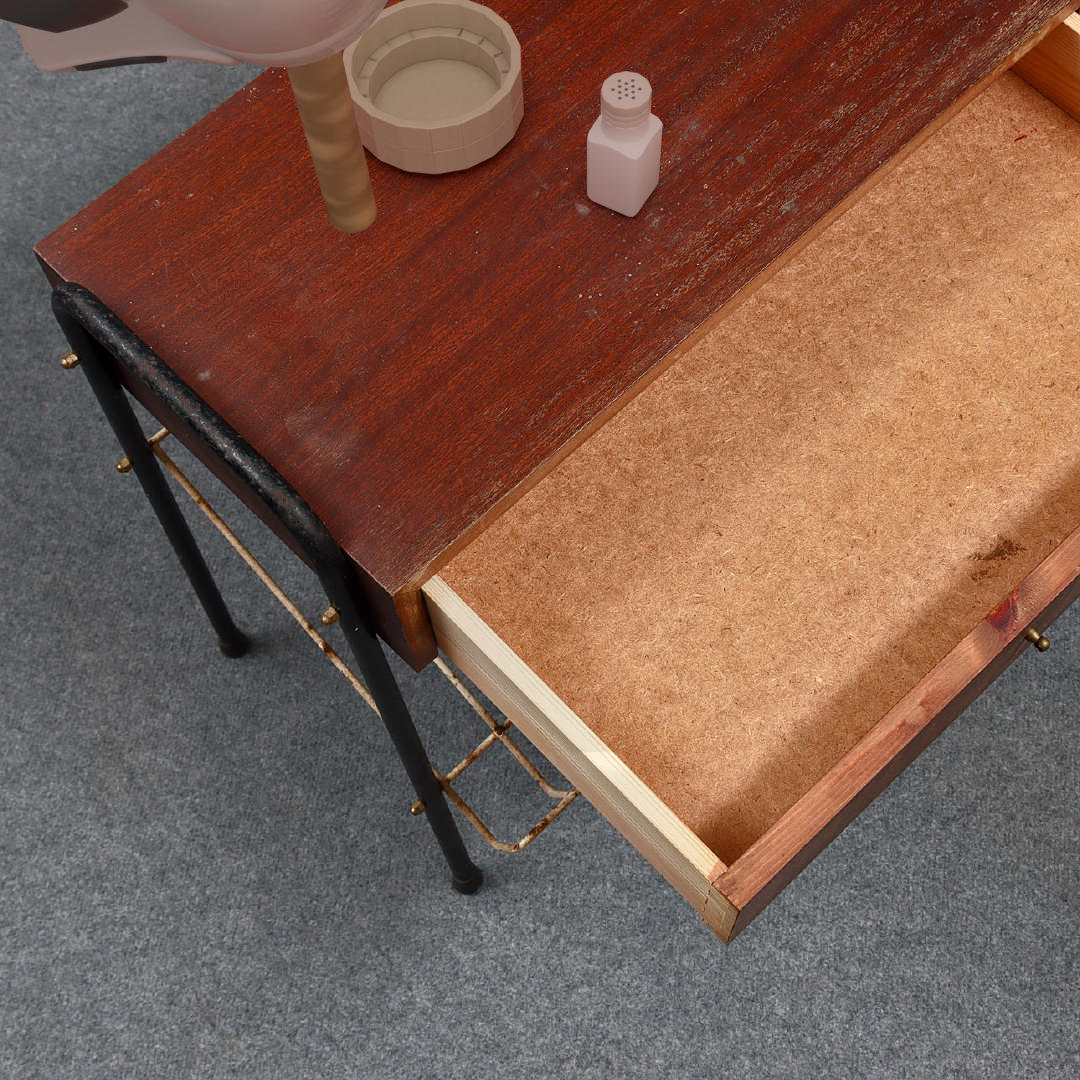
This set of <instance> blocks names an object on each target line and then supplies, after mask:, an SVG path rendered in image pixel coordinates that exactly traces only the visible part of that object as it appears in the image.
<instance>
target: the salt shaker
mask: <svg viewBox="0 0 1080 1080" xmlns="http://www.w3.org/2000/svg"><path fill="white" fill-rule="evenodd" d="M652 94H653V89H652V87H651V84H650V81H649V80H648V79H647V78H646V77H644V76H643V75H642V74H641V73H638V72H634V71H627V70H625V71H620V72H616V73H613V74H611V75H610V76H608V77H607V78H606V79H604V81H603V83H602V86H601V89H600V115H598V117H597V118H596V120H595V122H594V123H593V124H592V126H591V128H590V129H589V131H588V133H587V139H586V195H587V197H588V199H589V200H591V202H594V203H595V204H598V205H601V206H603V207H605V208H607V209H610V210H612V211H615V212H616V213H619V214H622V215H624V216H626V217H631V218H633V217H635V216H636V215H638V213H639V212H640V210H641V209H642V208H643V206H644V205H645V203H646V202H647V200H648V199H649V197H650V196H651V195H652V193H653V192H654V190H655V189H656V187H657V186H658V184H659V180H660V167H661V165H660V164H661V154H662V153H661V152H662V140H663V139H662V137H663V126H664V125H663V122H662V121H661V119H660V118H659V117H658V116H657V115H655V114H653V113H651V112H652V99H653V97H652V96H653V95H652Z"/></svg>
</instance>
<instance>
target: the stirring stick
mask: <svg viewBox="0 0 1080 1080" xmlns="http://www.w3.org/2000/svg"><path fill="white" fill-rule="evenodd" d="M285 69H286V71H287V75H288V78H289V83H290V86H291V89H292V93H293V96H294V100H295V104H296V108H297V110H298V114H299V118H300V122H301V125H302V129H303V132H304V135H305V140H306V142H307V147H308V150H309V153H310V156H311V160H312V164H313V167H314V171H315V174H316V175H315V176H316V178H317V181H318V182H317V183H318V186H319V190H320V191H321V197H322V200H323V203H324V206H325V211H326V213H327V217H328V220H329V223H330V225H331V226H332V227H333V228H334V229H336V230H337V231H339V232H342V233H346V234H357V233H361V232H363V231H365V230H367V229H368V228H370V227H371V226H372V225H373V224H374V222H375V221H376V219H377V216H378V208H377V203H376V199H375V194H374V189H373V186H372V182H371V181H372V180H371V177H370V172H369V167H368V163H367V159H366V155H365V151H364V145H363V144H362V141H361V137H360V132H359V128H358V123H357V119H356V115H355V110H354V106H353V101H352V97H351V93H350V88H349V84H348V80H347V75H346V71H345V66H344V62H343V52H342V51H340V52H338V53H337V54H335V55H332V56H330V57H328V58H326V59H323V60H320V61H317V62H315V63H311V64H306V65H302V66H294V67H285Z"/></svg>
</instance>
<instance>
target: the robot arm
mask: <svg viewBox="0 0 1080 1080" xmlns="http://www.w3.org/2000/svg"><path fill="white" fill-rule="evenodd" d="M388 1H389V0H0V20H3V21H6V22H9V23H13V24H15V25H16V28H17V31H18V35H19V37H20V40H21V43H22V46H23V49H24V51H25V52H26V53H27V54H28V55H29V56H31V57H32V59H33V61H34V63H35V66H36V67H37V68H38V69H39V70H41V71H43V72H47V73H53V74H62V73H69V72H74V71H77V72H91V71H97V70H103V69H110V68H117V67H125V66H132V65H146V64H147V65H148V64H164V63H167V62H168V61H187V62H199V63H207V64H212V65H213V64H214V65H220V66H225V67H236V66H238V65H240V64H241V62H243V63H247V64H251V65H254V66H255V65H256V66H260V67H268V68H286V67H294V66H302V65H306V64H311V63H315V62H317V61H320V60H323V59H326V58H328V57H330V56H332V55H335V54H337V53H338V52H340V51H341V52H342V51H344V50H345V48H347V47H348V46H349V45H351V44H352V43H353V42H355V41H356V40H357V39H358V38H359V37H361V36H362V35H363V34H364V33H365V32H366V31H367V30H368V29H369V27H370V26H371V25H372V24H373V23H374V21H375V20H376V19H377V17H378V16H379V15H380V13H381V12H382V10H384V9H385V7H386V5H387V3H388Z"/></svg>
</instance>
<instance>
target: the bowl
mask: <svg viewBox="0 0 1080 1080" xmlns="http://www.w3.org/2000/svg"><path fill="white" fill-rule="evenodd" d="M342 58H343V62H344V66H345V71H346V75H347V80H348V84H349V88H350V93H351V97H352V101H353V106H354V110H355V115H356V119H357V123H358V128H359V132H360V137H361V141H362V145H363V147H365V148H366V149H367V150H368V151H369V152H370V153H371V154H372V155H373V156H374V157H375V158H376V159H378V160H379V161H381V162H383V163H385V164H388V165H389V166H392V167H395V168H398V169H399V170H402V171H405V172H410V173H419V174H429V175H439V174H446V173H451V172H457V171H463V170H467V169H470V168H472V167H475V166H476V165H478V164H481V163H483V162H485V161H486V160H488V159H491V158H493V157H494V156H496V155H497V154H498V153H499V152H501V150H502V149H503V148H504V147H505V146H506V145H507V144H508V143H510V141H511V140H512V139H513V138H514V137H515V134H516V133H517V130H518V129H519V126H520V125H521V122H522V119H523V118H524V115H525V98H524V97H525V93H524V79H523V78H524V77H523V63H522V62H523V61H522V48H521V44H520V42H519V40H518V38H517V36H516V34H515V32H514V30H513V28H512V26H511V24H510V23H508V22H507V21H506V20H505V19H503V17H501V16H500V15H499V14H497V12H495V11H494V10H492V9H491V8H490V7H488V6H486V5H483V4H480V3H478V2H474V1H472V0H401V1H399V2H397V3H395V4H393V5H391V6H388V7H386V8H384V9H383V10H382V12H381V13H380V15H379V16H378V17H377V19H376V20H375V21H374V23H373V24H372V25H371V26H370V27H369V29H368V30H367V31H366V32H365V33H364V34H363V35H362V36H361V37H359V38H358V39H357V40H356V41H355V42H353V43H352V44H351V45H349V46H348V47H347V48H345V49H343V52H342Z"/></svg>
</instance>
